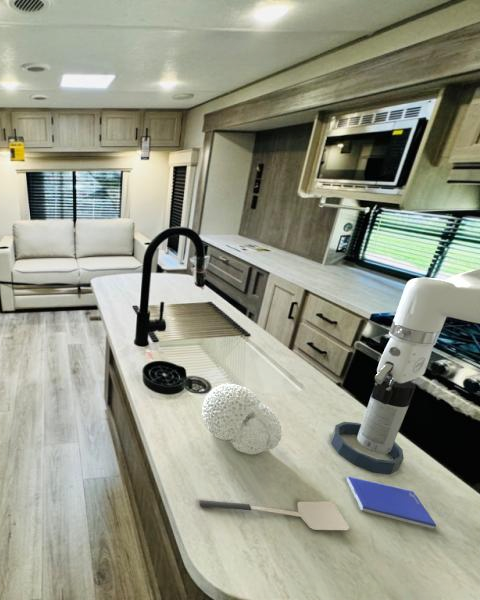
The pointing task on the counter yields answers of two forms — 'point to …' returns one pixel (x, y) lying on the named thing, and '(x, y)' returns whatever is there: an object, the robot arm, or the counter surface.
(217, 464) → the counter surface
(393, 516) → the hard drive
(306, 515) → the spatula
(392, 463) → the faceted blue ring
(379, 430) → the spray can
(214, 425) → the white textured rounded lump
